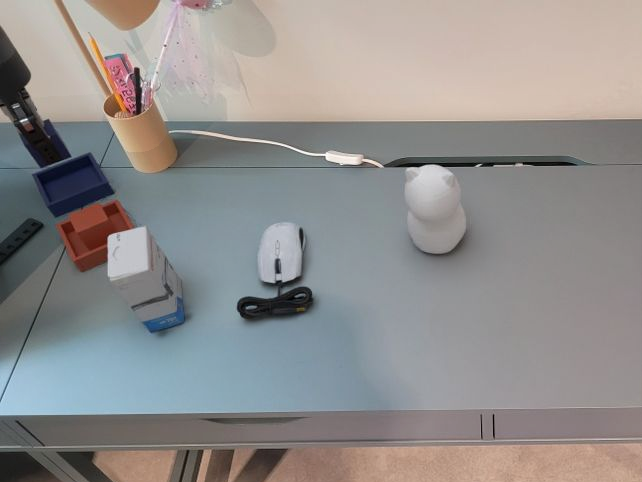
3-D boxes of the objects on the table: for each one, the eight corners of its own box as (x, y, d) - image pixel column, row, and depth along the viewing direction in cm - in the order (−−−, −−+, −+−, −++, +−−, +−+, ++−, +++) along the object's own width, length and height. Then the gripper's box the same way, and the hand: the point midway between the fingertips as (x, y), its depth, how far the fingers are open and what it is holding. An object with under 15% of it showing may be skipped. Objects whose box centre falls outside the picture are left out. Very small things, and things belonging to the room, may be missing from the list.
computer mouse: (315, 222, 102) (310, 204, 98) (314, 315, 90) (308, 298, 87) (251, 229, 100) (243, 211, 97) (241, 324, 89) (232, 307, 86)
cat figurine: (401, 260, 97) (389, 187, 85) (420, 202, 105) (411, 128, 93) (460, 267, 96) (456, 194, 84) (474, 208, 104) (472, 134, 92)
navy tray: (55, 217, 101) (46, 206, 100) (39, 185, 106) (31, 174, 104) (114, 193, 105) (107, 181, 103) (97, 163, 110) (90, 151, 108)
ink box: (185, 324, 89) (150, 270, 80) (147, 334, 88) (107, 281, 79) (181, 278, 94) (148, 223, 85) (145, 287, 93) (107, 232, 84)
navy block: (40, 168, 98) (24, 145, 94) (33, 153, 100) (16, 129, 96) (71, 157, 99) (56, 133, 96) (64, 141, 101) (48, 118, 98)
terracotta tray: (81, 272, 95) (72, 261, 93) (63, 235, 99) (55, 224, 97) (143, 244, 98) (137, 233, 96) (124, 210, 103) (117, 198, 101)
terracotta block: (91, 253, 96) (76, 232, 93) (82, 235, 99) (67, 215, 95) (122, 239, 98) (108, 219, 95) (112, 222, 100) (98, 202, 97)
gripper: (25, 68, 84) (89, 168, 97) (1, 21, 91) (63, 120, 104) (-39, 88, 81) (36, 188, 94) (-59, 38, 88) (13, 138, 101)
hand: (50, 152), depth 99 cm, fingers closed on navy block, 4 cm apart
